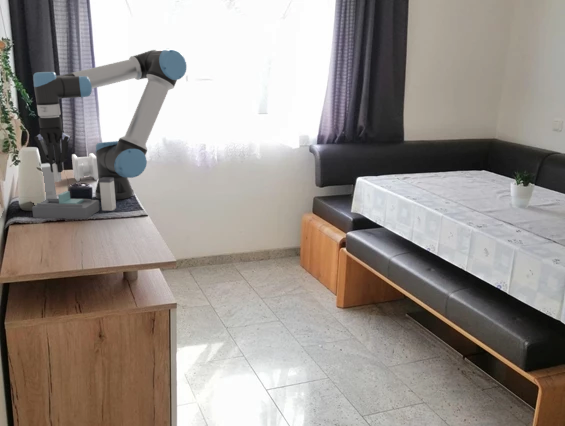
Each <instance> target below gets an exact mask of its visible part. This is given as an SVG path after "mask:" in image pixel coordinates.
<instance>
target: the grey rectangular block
mask: <svg viewBox="0 0 565 426" xmlns="http://www.w3.org/2000/svg"><path fill="white" fill-rule="evenodd" d="M99 182H100V193H101V199H100V201H101V202H100V203H101V211H105V212H108V211H109V212H110V211H114V210H115V209H117V203H116V202H117V200H115V188H114V177H103V178H101V179H99Z"/></svg>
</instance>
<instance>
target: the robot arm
mask: <svg viewBox="0 0 565 426" xmlns="http://www.w3.org/2000/svg"><path fill="white" fill-rule="evenodd" d="M186 72H187V62H186V59H185V57H184V55H183V54H182V53H181V52H180V51H178V50H176V49H172V48H164V49H161V48H160V49H157V48H156V49H151V50H148V51H144V52H142V53H140V54H135V55H132V56H129V58H128V59H126V60H122V61H117V62H113V63H107V64H104V65H100V66H96V67H91V68H87V69H83V70H78V71H74V72H70V73H66V74H65V73H64V74H62V75H59V74H58V75H57V73H56V72H54V71H41V72H39V71H38V72H35V73H34V74H32V75H33V79H32V80H33V87H34V89H33V90H34V95H35V100H36V108H37V115H38V116H39V118H38V124H39V125H38V126H39V128H40V130H39V134H37V135H36V136H34V137H33V139H34V140H35V142H36V143H37V145H38V149H39V151H40V153H41V156H42V159H43V162H45V163H49V164H50V168H51V172H53V174H54V181H55V183H59V182H61V181H62V180H63V179H62V178H63V177H62V173H63V163H64V162H67V160H68V152H69V151H68V150H69V143H70V139H72V138H71V137H72V136H71V135H70V134H69V135H68V134H66V133H65V131H64V130H63V121H62V117H61V116H60V115H62V114H61V108H60V99H75V98H81V99H82V98H87V97H90V96H91V95H92V89H96V88H100V87H104V86H109V85H113V84H117V83H120V82H124V81H129V80H133V79H135V80H138V81H139V80H144V79H147V83H146V85H145V88H144V90H143V93H142V95H141V97H140V100H139V101H138V104H137V107H136V109H135V111H134V114H133V116H132V119H131V121H130V122H129V126H128V128H127V130H126V132H125V135H124V136H122V137H119V138H118V140H115V141H104V142H102V141H101V142H98V143H96V145H95V156H96V158H97V169H98V179H97V183H96V187H95V193H94V194H95V198H96V200H101V193H100V182H99V179H101V178H103V177H114V188H115V200H116V201H117V200H125V199H128V198H131V197H133V195H134V191H133V188H132V186H131V183H130V180H129V178H131V179H132V178H136V177H139V176H141V174H143V173H144V171H145V170H146V167H147V163H148V162H147V157H146V155H147V152H148V147H147V142H148V140H149V138H150V135H151V132H152V130H153V128H154V125H155V123H156V121H157V120H158V119H157V118H158V116H159V113H160V111H161V110H162V106H163V104H164V101H165V99H166V97H167V95H168V92H169V91H170V90H172V89H174V88H175V86H176V83H177V82H178V80H180V79H182V78H183V77H184V76H185V75H186ZM61 139H62V142H61ZM61 144H62V145H61Z"/></svg>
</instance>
